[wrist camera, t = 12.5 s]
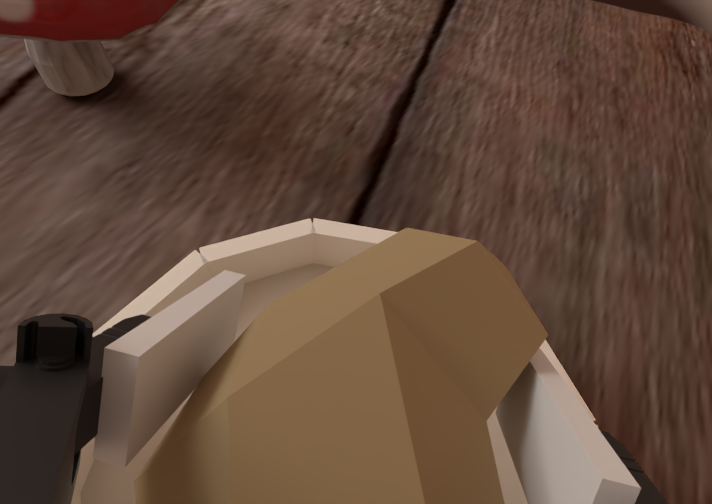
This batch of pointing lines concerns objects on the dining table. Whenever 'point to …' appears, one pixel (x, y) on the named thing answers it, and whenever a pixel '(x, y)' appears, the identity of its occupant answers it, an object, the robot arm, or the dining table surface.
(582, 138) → the dining table surface
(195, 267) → the cream bowl
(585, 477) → the robot arm
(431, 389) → the low-poly potato
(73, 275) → the dining table surface
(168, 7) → the decorative mushroom
